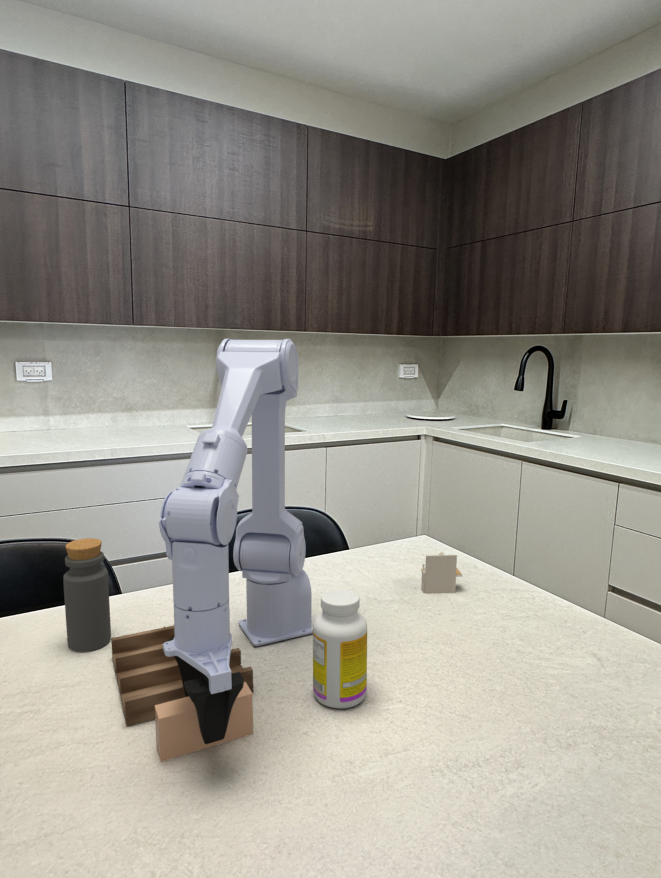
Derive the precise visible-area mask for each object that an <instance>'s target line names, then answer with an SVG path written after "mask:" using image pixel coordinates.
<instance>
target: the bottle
mask: <svg viewBox="0 0 661 878" xmlns="http://www.w3.org/2000/svg"><path fill="white" fill-rule="evenodd" d="M65 549H66V552H67V555H66V556H65V558H64V563H65V566H66V567H68V568H69V570H67V571H66V572H65V573H64V574H63V580H62V581H63V595H64V609H65V610H64V611H65V612H64V613H65V627H66V639H67V640H66V641H67V646H68V649H69V650H71V651H72V652H76V653H88V652H93V651H96V650H99V649H102V648H104V647H105V646H107V645H108V644H109V643H110V642H111V638H112V629H111V628H112V627H111V612H110V610H111V608H110V591H109V590H110V589H109V587H110V586H109V572H108V569H107V568H106V567H104V566H102V565H101V564H102V563H103V562H104V561H105V553H104V552H103V551H101V549H102V540H101V539H100V538H99V539H98V538H93V537H90V538H89V537H87V538H81V539H75V540H72V541H70V542H68V543H67V544H65Z"/></svg>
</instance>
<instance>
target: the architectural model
mask: <svg viewBox="0 0 661 878" xmlns="http://www.w3.org/2000/svg"><path fill="white" fill-rule="evenodd" d="M457 560H458V555H457V554H445V553H444V552H443V551H441V552H440V553H438V554H437V555H431V554H430V555H425V564H424V563H422V568H421V569H420V572H421V589H420V590H421V591H422V593H423V594H425V595H426V594H430V595H431V594H456V590H457V589H456V588H457V587H456V586H457V583H456V582H457V577H463V574H462V572H461V571H460V570H459V568H458V567H457V564H458V563H457V562H458V561H457Z"/></svg>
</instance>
